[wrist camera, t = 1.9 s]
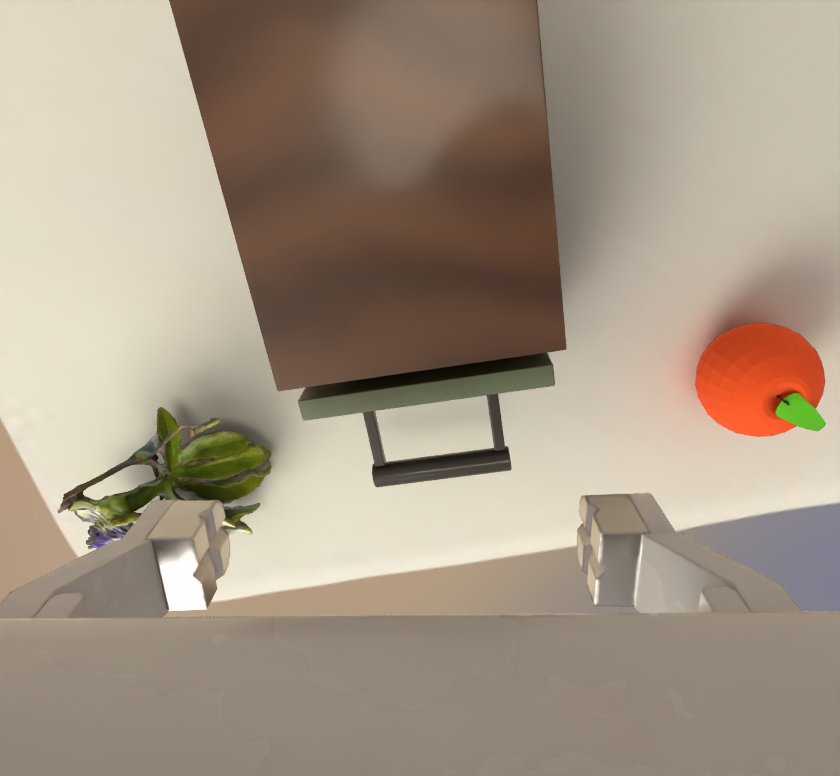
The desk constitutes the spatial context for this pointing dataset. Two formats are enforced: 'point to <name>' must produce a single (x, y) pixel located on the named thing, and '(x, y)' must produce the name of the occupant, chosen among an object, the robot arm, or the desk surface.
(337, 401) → the drawer
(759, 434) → the clementine
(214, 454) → the passion flower
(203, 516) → the robot arm
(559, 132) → the desk surface
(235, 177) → the cabinet
